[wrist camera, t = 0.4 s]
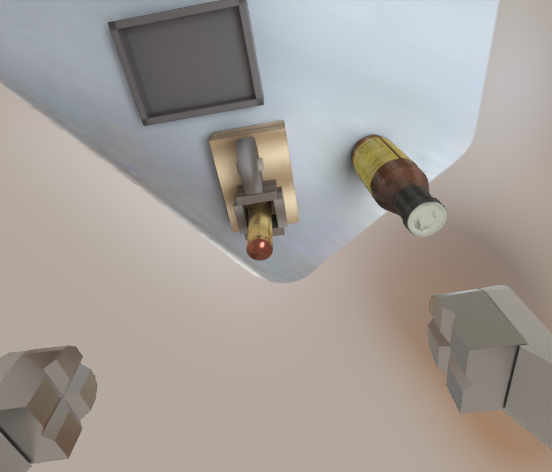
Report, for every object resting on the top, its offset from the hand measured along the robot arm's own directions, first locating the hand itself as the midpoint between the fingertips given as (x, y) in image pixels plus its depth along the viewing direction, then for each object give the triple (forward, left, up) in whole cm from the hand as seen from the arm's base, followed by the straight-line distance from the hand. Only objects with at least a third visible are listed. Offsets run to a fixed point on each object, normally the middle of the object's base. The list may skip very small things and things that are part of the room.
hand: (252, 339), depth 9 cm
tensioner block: (+14, -4, -45) cm, 48 cm away
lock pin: (+17, -4, -42) cm, 45 cm away
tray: (-2, -9, -45) cm, 46 cm away
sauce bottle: (+14, +13, -46) cm, 50 cm away
